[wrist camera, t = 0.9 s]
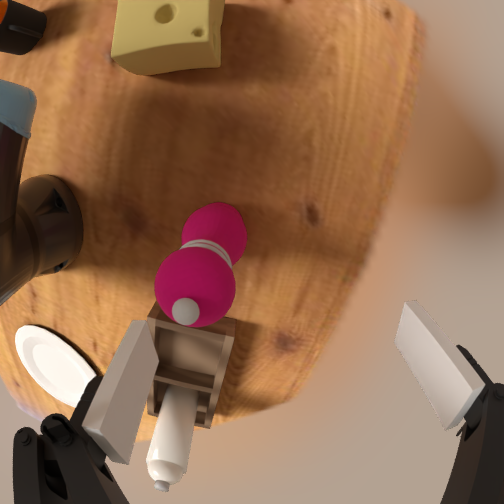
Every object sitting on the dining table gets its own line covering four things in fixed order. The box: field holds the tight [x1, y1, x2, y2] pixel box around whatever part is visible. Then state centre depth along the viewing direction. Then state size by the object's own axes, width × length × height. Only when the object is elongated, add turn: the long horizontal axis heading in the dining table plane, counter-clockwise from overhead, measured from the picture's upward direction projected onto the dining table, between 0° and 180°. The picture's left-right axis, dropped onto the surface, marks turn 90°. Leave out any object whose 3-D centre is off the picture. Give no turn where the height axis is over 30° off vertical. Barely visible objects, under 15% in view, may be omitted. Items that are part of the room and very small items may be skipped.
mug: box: [0, 0, 47, 55], centre depth 18 cm, size 8×12×10 cm
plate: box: [15, 325, 97, 408], centre depth 46 cm, size 25×25×2 cm
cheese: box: [111, 0, 225, 76], centre depth 22 cm, size 10×11×10 cm
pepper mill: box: [155, 202, 247, 327], centre depth 26 cm, size 7×7×20 cm
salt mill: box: [146, 384, 200, 492], centre depth 36 cm, size 6×6×20 cm
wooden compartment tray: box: [147, 301, 236, 429], centre depth 42 cm, size 24×12×4 cm, turn 167°
